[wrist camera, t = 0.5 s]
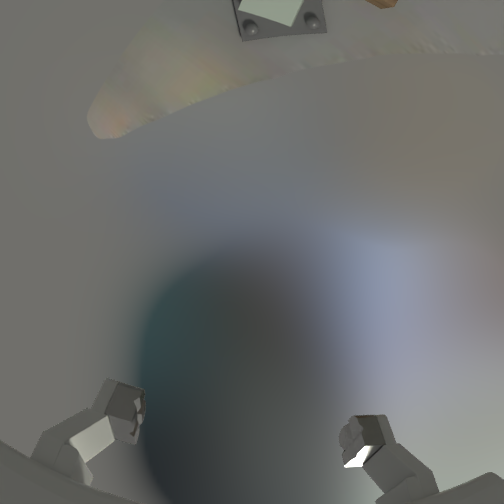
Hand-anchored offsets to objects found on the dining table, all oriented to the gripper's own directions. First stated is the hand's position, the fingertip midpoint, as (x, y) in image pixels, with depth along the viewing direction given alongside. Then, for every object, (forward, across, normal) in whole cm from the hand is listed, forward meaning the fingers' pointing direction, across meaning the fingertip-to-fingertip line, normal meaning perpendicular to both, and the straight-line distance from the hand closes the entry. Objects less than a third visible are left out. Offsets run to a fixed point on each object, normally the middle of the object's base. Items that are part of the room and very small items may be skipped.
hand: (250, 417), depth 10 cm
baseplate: (+41, +3, -34) cm, 53 cm away
